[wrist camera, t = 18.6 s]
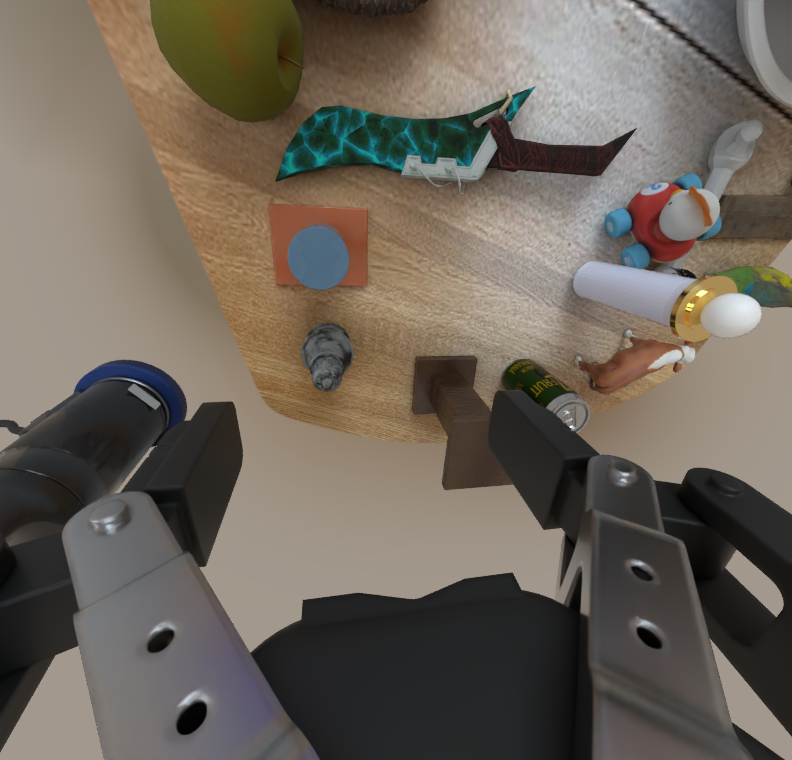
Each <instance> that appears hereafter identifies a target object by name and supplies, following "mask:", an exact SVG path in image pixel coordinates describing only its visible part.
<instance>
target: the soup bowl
mask: <svg viewBox="0 0 792 760" xmlns="http://www.w3.org/2000/svg"><path fill="white" fill-rule="evenodd" d="M737 28H738V33H739V38H740V42H741V46H742V48H743V51H744V54H745V56H746V58H747V60H748V62H749V63H750V65H751V66H752V67H753V69H754V71H755V73H756V75H757V77H758V79H759V81H760V83H761V84H762V85H763V87H764V88H765V89H766V91H767V92H768V93H769V94H770V95H771V96H772V97H773V98H774V99H776V100H777V101H779V102H780V103H782V104H784V105H786V106H788V107H790V108H792V0H737Z"/></svg>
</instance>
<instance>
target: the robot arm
mask: <svg viewBox="0 0 792 760" xmlns="http://www.w3.org/2000/svg"><path fill="white" fill-rule="evenodd" d="M170 418H171V411H170V407H169V404H168V402H167V400H166V398H165V397H164V396H163V394H162V393H161V392H160V391H159V390H158V389H156V388H155V387H154V386H152V385H151V384H149V383H147V382H145V381H143V380H141V379H138V378H134V377H130V376H109V377H106V378H103V379H100V380H98V381H97V382H95V383H94V384H92V385H91V386H90V387H89V388H82V389H80V390H78V391H77V392H76V393H74V394H73V395H71V396H70V397H68V398H67V399H66V400H64V401H63V402H61V403H60V404H58V405H57V406H56V407H54V408H53V409H51V410H48V411H47V412H45V413H44V414H42V415H41V416H39V417H38V418H36V419H35V420H34V421H33V422H31V424H30V425H29V426H27V427H26V428H23V427H19V426H18V424H17V423H15V422H14V421H10V420H0V427H7V428H8V430H9V431H10V432H11V433H14V434H18V435H19V437H20V438H19V439H18V440H16V441H15V442H13V443H12V444H11V445H9V446H8V447H6V448H5V449H4V450H2V451H1V452H0V752H1V750H2V748H3V746H4V745H5V743H6V741H7V739H8V738H9V736H10V734H11V732H12V731H13V729H14V727H15V725H16V724H17V722H18V720H19V718H20V716H21V714H22V713H23V711H24V710H25V708H26V706H27V704H28V702H29V701H30V699H31V697H32V696H33V694H34V692H35V690H36V688H37V687H38V685H39V683H40V681H41V680H42V678H43V676H44V674H45V673H46V671H47V669H48V667H49V666H50V664H51V662H52V660H53V659H54V657H55V655H57V654H59V653H62V652H64V651H67V650H69V649H72V648H74V647H77V646H79V649H80V653H81V658H82V662H83V667H84V672H85V676H86V681H87V685H88V689H89V694H90V699H91V703H92V707H93V712H94V717H95V721H96V726H97V730H98V735H99V739H100V744H101V748H102V753H103V757H104V760H784V759H783V758H781V757H780V756H779V755H777V754H776V753H774V752H773V751H772V750H770V749H769V748H767V747H766V746H765V745H763V744H762V743H760V742H759V741H758V740H756V739H755V738H753V737H752V736H751V735H749V734H748V733H746V732H745V731H744V730H742V729H741V728H739V727H738V726H737V725H735V724H734V723H732V722H731V718H730V714H729V711H728V707H727V703H726V699H725V695H724V691H723V688H722V684H721V680H720V676H719V672H718V669H717V665H716V661H715V657H714V654H713V649H712V646H711V642H710V639H711V640H712V641H713V642H714V643H715V645H716V646H717V647H718V648H719V650H720V651H721V652H722V653H723V654H724V656H725V657H726V658H727V659H728V660H729V662H730V663H731V664H732V665H733V666H734V667H735V669H736V670H737V671H738V672H739V674H740V675H741V676H742V677H743V678H744V680H745V681H746V682H747V683H748V684H749V686H750V687H751V688H752V689H753V690H754V692H755V693H756V694H757V695H758V696H759V698H760V699H761V700H762V701H763V703H764V704H765V705H766V706H767V707H768V708H769V710H770V711H771V712H772V713H773V714H774V716H775V717H776V718H777V719H778V721H779V722H780V723H781V724H782V725H783V726H784V728H785V729H786V730H787V731H788V733H789V734H790V735H791V736H792V514H790V513H789V512H787V511H786V510H784V509H783V508H781V507H780V506H779V505H777V504H776V503H774V502H773V501H771V500H770V499H768V498H767V497H765V496H764V495H763V494H761V493H760V492H758V491H757V490H755V489H754V488H753V487H751V486H749V485H748V484H747V483H745V482H743V481H741V480H739V479H737V478H735V477H733V476H731V475H728V474H726V473H723V472H720V471H716V470H712V469H708V468H693V469H690V470H688V472H687V473H686V476H685V477H684V479H683V481H682V484H676V483H669V482H662V481H655V480H653V478H652V477H651V475H650V474H649V473H648V472H647V471H646V470H644V469H643V468H642V467H640V466H638V465H637V464H635V463H633V462H631V461H628V460H626V459H623V458H620V457H616V456H611V455H600V454H599V453H598V452H597V451H595V450H594V449H593V448H592V447H591V446H590V445H589V444H587V443H586V441H584V440H583V439H582V438H581V437H580V436H579V435H578V434H577V433H576V432H575V431H572V429H571V428H570V427H569V426H568V425H567V424H566V423H563V421H562V420H561V419H560V418H559V417H558V416H557V415H556V414H555V413H554V412H552V411H550V410H548V409H547V408H545V407H543V406H541V405H539V404H536V403H535V402H534V401H533V400H532V399H531V398H530V397H529V396H528V395H527V394H526V393H525V392H524V391H522V390H506V391H498V392H497V393H496V394H495V396H494V401H493V407H492V412H491V418H490V424H489V429H488V442H489V446H490V449H491V451H492V453H493V454H494V456H495V457H496V459H497V460H498V462H499V463H500V465H501V466H502V468H503V469H504V471H505V472H506V474H507V475H508V477H509V478H510V480H511V481H512V483H513V484H514V486H515V487H516V489H517V490H518V492H519V493H520V495H521V496H522V498H523V499H524V501H525V502H526V504H527V505H528V507H529V508H530V510H531V511H532V513H533V514H534V516H535V517H536V519H537V520H538V522H539V523H540V525H541V526H542V528H543V529H544V530H546V529H556V528H562V529H563V530H564V532H565V534H564V537H563V540H562V545H561V553H560V561H559V569H558V577H557V585H556V593H555V600H553V599H551V598H548V597H546V596H543V595H540V594H536V593H532V592H529V591H524V590H521V589H520V586H519V584H518V583H517V580H516V579H515V576H514V574H513V573H505V574H498V575H490V576H483V577H475V578H467V579H463V580H461V581H459V582H456V583H454V584H452V585H449V586H447V587H445V588H442V589H440V590H438V591H435V592H433V593H431V594H428V595H426V596H424V597H422V598H418V599H405V598H396V597H388V596H380V595H372V594H363V593H353V594H346V595H339V596H330V597H322V598H315V599H307V600H303V606H302V620H300V621H297V622H295V623H293V624H290V625H289V626H287V627H285V628H283V629H281V630H280V631H278V632H276V633H275V634H274V635H272V636H271V637H269V638H268V639H266V640H265V641H264V642H262V644H260V645H259V646H258V647H257V648H256V649H254V650H253V651H252V652H251V653H250V652H249V650H248V649H247V647H246V645H245V643H244V642H243V640H242V638H241V637H240V635H239V634H238V632H237V630H236V629H235V627H234V625H233V623H232V622H231V620H230V618H229V617H228V615H227V613H226V612H225V610H224V608H223V607H222V605H221V603H220V602H219V600H218V598H217V596H216V595H215V593H214V591H213V590H212V588H211V586H210V585H209V583H208V582H207V580H206V578H205V576H204V575H203V573H202V572H201V570H200V568H199V567H204V566H206V564H207V562H208V559H209V556H210V553H211V550H212V548H213V545H214V542H215V539H216V536H217V534H218V531H219V528H220V525H221V523H222V520H223V517H224V514H225V511H226V508H227V506H228V503H229V500H230V497H231V495H232V492H233V489H234V486H235V483H236V480H237V478H238V475H239V472H240V469H241V466H242V458H243V449H242V442H241V437H240V431H239V426H238V420H237V415H236V409H235V406H234V404H233V402H208V403H203V404H202V405H201V406H200V407H199V409H198V410H197V412H196V413H195V415H194V416H193V418H192V419H191V420H190V421H182V422H180V423H179V424H177V425H176V426H174V427H173V428H171V429H170V430H168V431H167V432H166V433H165V434H164V436H163V437H162V438H161V440H160V441H159V442H158V444H157V447H155V448H154V449H153V450H152V451H151V453H150V454H149V457H147V458H146V459H145V461H144V462H143V463H142V465H141V466H140V468H139V469H138V470H137V471H136V473H135V474H134V475H133V477H132V478H131V479H130V481H129V482H128V483H127V485H126V486H125V487H124V489H123V490H122V491H121V492H120V493H116V494H115V492H116V491H117V490H118V488H119V487H120V486H121V484H122V483H123V482H124V481H125V479H126V478H127V477H128V475H129V474H130V473H131V471H132V470H133V469H134V468H135V467H136V465H137V464H138V463H139V461H140V460H141V459H142V457H143V456H144V455H145V454H146V452H147V451H148V450H149V448H150V447H151V446H152V445H153V443H154V442H155V441H156V439H157V438H158V437H159V436H160V435H161V434H162V433H163V432H164V431H165V429H166V428H167V426H168V425H169V422H170ZM736 550H738V551H739V552H741V553H742V554H743V555H744V556H745V557H746V558H747V559H748V560H750V561H751V562H752V563H753V564H754V565H755V566H757V568H759V569H760V570H761V571H762V572H763V573H764V574H765V575H766V576H768V577H769V578H770V579H771V580H772V581H773V582H774V583H775V584H776V586H777V587H778V589H779V590H780V592H781V594H782V597H783V600H784V606H783V610H782V611H781V612H780V614H779V615H778V616H777V617H775V616H774V615H773V614H772V613H771V612H770V611H769V610H768V609H767V608H766V607H765V606H764V605H763V604H761V602H760V601H759V600H758V599H757V598H755V596H753V595H752V594H751V593H750V592H749V591H748V590H747V589H746V588H745V587H744V586H743V585H742V584H741V583H740V582H739V581H738V580H737V579H736V578H735V577H734V576H733V575H732V574H731V573H730V572H729V571H728V570H727V569H726V568H725V567H726V565H727V564H728V562H729V560H730V559H731V557H732V556H733V554H734V553H735V551H736Z"/></svg>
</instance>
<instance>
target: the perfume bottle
mask: <svg viewBox="0 0 792 760" xmlns="http://www.w3.org/2000/svg"><path fill="white" fill-rule="evenodd" d="M669 268H672V267H669ZM672 269H674V270H675V271H676V272H677V273H678V275H679V276H677V275H671V274H666V273H660V272H655V271H649V270H644V269H639V268H633V267H628V266H622V265H617V264H611V263H606V262H600V261H590V262H588V263H586V264H584V265H583V266H582V267H581V268H580V269H579V270H578V271H577V273H576V275H575V278H574V282H573V287H574V291H575V293H576V294H577V295H578V296H580V297H582V298H585V299H588V300H591V301H594V302H597V303H600V304H603V305H606V306H609V307H612V308H614V309H617V310H620V311H623V312H626V313H629V314H632V315H635V316H638V317H641V318H644V319H647V320H650V321H653V322H656V323H659V324H662V325H664V326H667V327H670V328H671V330H672V332H673V333H674V335H676V336H677V337H678V338H681V339H683V340H686V341H691V342H694V341H700V340H704V339H706V338H708V337H710V336H711V335H713V336H715V337H719V338H736V337H740V336H743V335H745V334H747V333H749V332H751V331H752V330H753V329H755V328H756V327H757V325H758V324H759V322H760V320H761V317H762V309H761V307H760V304H759V303H758V302H757V301H756V300H755V299H754V298H752V297H750V296H748V295H745V294H741V293H738V291H737V287H736V284H735V282H734V281H733V280H732V279H730V278H729V277H726V276H721V275H707V276H703V277H701V278H699V279H697V278H696V276H695V275H694V274H693V273H692V272H690V271H688V270H684V269H678V268H672ZM677 269H678V270H677ZM683 272H684V273H683ZM677 273H673V274H677ZM685 273H686V274H687V275H686V274H685ZM680 274H681V275H680ZM684 274H685V275H684ZM688 276H689V278H688Z"/></svg>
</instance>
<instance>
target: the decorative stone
mask: <svg viewBox="0 0 792 760" xmlns="http://www.w3.org/2000/svg"><path fill="white" fill-rule="evenodd" d="M317 1H318V2H320V3H321V4H322V5H323V6H324V7H325V8H326V7H328V6H329V5H331V6H332V7H333V8H334V9H336V10H341V11H346V12H347V13H348V14H350V13H352V14H353V15H356V14H358V13H360V14H361V15H365V14H369V15H370V17H372V18H374V17H375V16H379V17H381V16H382V15H386V16H390V15H392V14H393V15H396V16H397V15H399V14H400V15H404V14H405V13H411V12H413V11H414V10H415V9H416V8H418V7H419V5H420V4H422V3H425V2H427V1H428V0H317Z"/></svg>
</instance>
